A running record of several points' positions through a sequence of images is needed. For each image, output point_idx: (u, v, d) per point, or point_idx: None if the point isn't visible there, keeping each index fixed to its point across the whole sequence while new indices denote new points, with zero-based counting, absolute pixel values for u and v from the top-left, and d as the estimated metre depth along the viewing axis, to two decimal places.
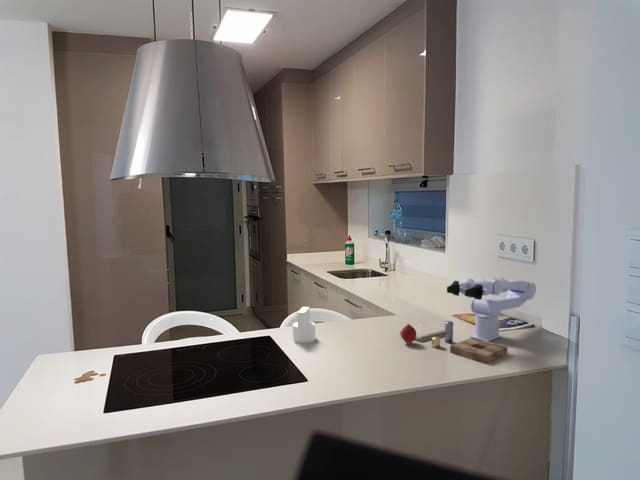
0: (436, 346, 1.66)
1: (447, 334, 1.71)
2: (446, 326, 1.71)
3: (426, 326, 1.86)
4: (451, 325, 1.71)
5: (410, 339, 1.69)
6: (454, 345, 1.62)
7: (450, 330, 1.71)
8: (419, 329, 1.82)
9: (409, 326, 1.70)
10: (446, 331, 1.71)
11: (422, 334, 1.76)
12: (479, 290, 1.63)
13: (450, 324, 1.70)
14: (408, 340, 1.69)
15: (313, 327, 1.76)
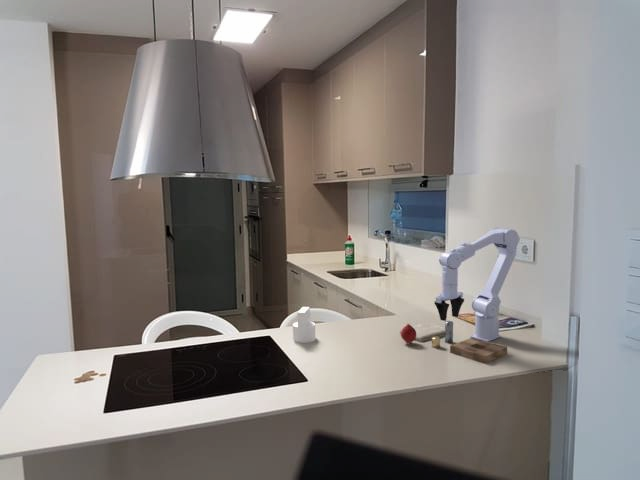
0: (436, 346, 1.66)
1: (447, 334, 1.71)
2: (446, 326, 1.71)
3: (426, 326, 1.86)
4: (451, 325, 1.71)
5: (410, 339, 1.69)
6: (454, 345, 1.62)
7: (450, 330, 1.71)
8: (419, 329, 1.82)
9: (409, 326, 1.70)
10: (446, 331, 1.71)
11: (422, 334, 1.76)
12: None
13: (450, 324, 1.70)
14: (408, 340, 1.69)
15: (313, 327, 1.76)
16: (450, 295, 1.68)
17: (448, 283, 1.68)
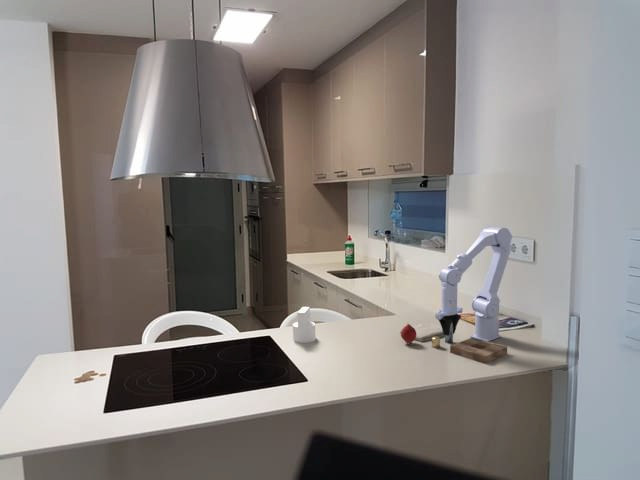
0: (436, 346, 1.66)
1: None
2: None
3: (426, 326, 1.86)
4: (451, 325, 1.71)
5: (410, 339, 1.69)
6: (454, 345, 1.62)
7: (450, 330, 1.71)
8: (419, 329, 1.82)
9: (409, 326, 1.70)
10: None
11: (423, 334, 1.76)
12: None
13: None
14: (408, 340, 1.69)
15: (313, 327, 1.76)
16: (450, 311, 1.68)
17: (448, 299, 1.68)
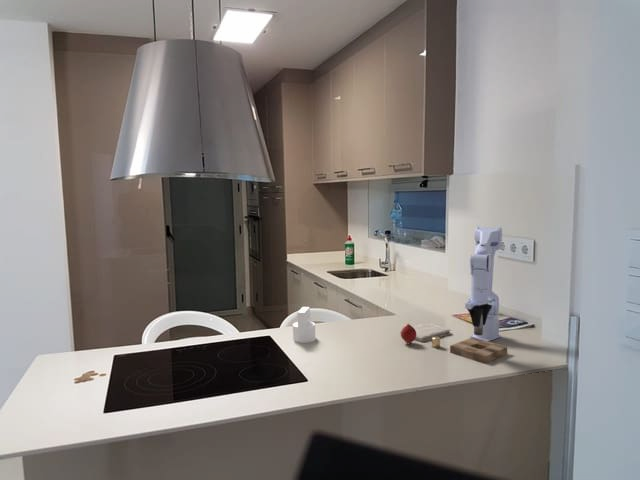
0: (436, 346, 1.66)
1: None
2: None
3: (426, 326, 1.86)
4: (481, 316, 1.58)
5: (410, 339, 1.69)
6: (454, 345, 1.62)
7: (480, 321, 1.58)
8: (420, 329, 1.81)
9: (409, 326, 1.70)
10: None
11: (424, 334, 1.75)
12: None
13: None
14: (408, 340, 1.69)
15: (313, 327, 1.76)
16: (481, 300, 1.56)
17: (485, 287, 1.55)
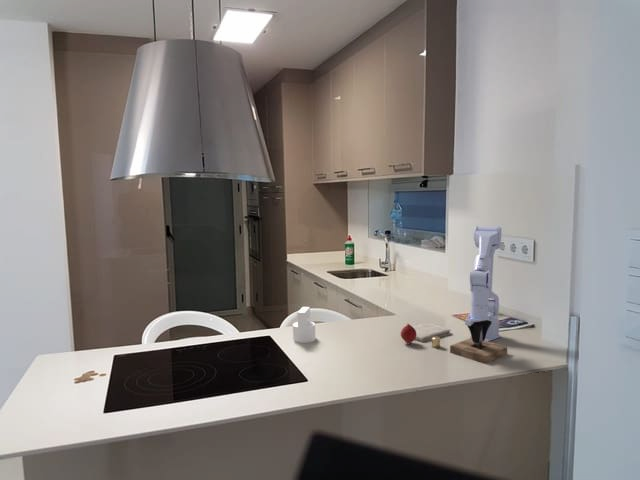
0: (436, 346, 1.66)
1: None
2: None
3: (426, 326, 1.86)
4: None
5: (410, 339, 1.69)
6: (454, 345, 1.62)
7: None
8: (420, 329, 1.81)
9: (409, 326, 1.70)
10: None
11: (424, 334, 1.75)
12: None
13: None
14: (408, 340, 1.69)
15: (313, 327, 1.76)
16: (480, 317, 1.56)
17: (485, 304, 1.56)
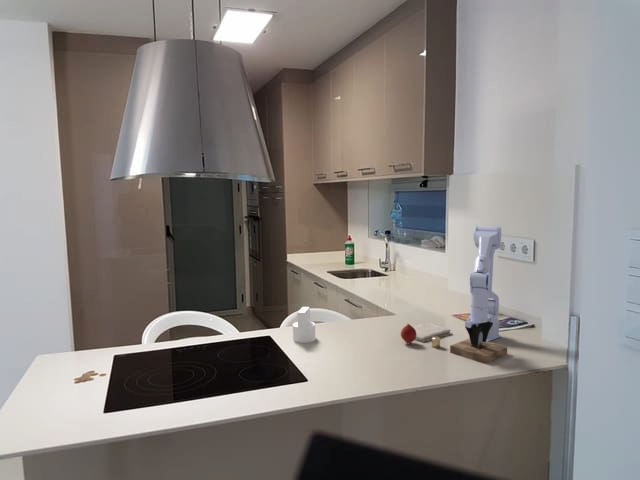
0: (436, 346, 1.66)
1: None
2: None
3: (426, 326, 1.85)
4: (480, 335, 1.59)
5: (410, 339, 1.69)
6: (454, 345, 1.62)
7: (480, 340, 1.59)
8: (420, 329, 1.81)
9: (409, 326, 1.70)
10: None
11: (424, 334, 1.75)
12: None
13: (479, 334, 1.58)
14: (408, 340, 1.69)
15: (313, 327, 1.76)
16: (480, 319, 1.56)
17: (485, 306, 1.56)
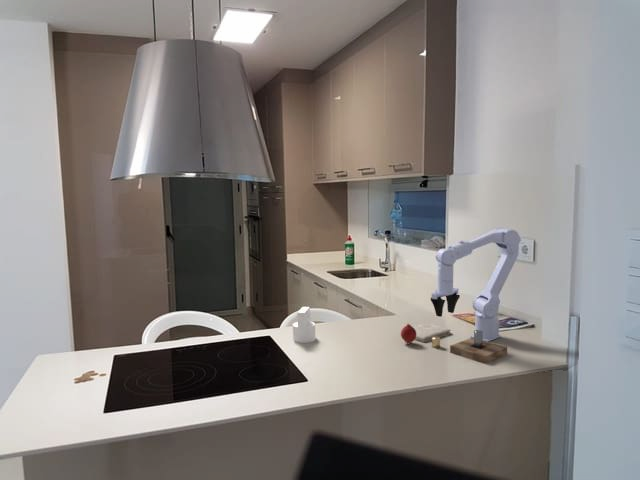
0: (436, 346, 1.66)
1: (476, 344, 1.59)
2: (475, 336, 1.59)
3: (426, 326, 1.85)
4: (480, 335, 1.59)
5: (410, 339, 1.69)
6: (454, 345, 1.62)
7: (479, 340, 1.59)
8: (420, 329, 1.81)
9: (409, 326, 1.70)
10: (475, 341, 1.59)
11: (425, 335, 1.75)
12: None
13: (479, 334, 1.58)
14: (408, 340, 1.69)
15: (313, 327, 1.76)
16: (446, 291, 1.70)
17: (443, 279, 1.70)
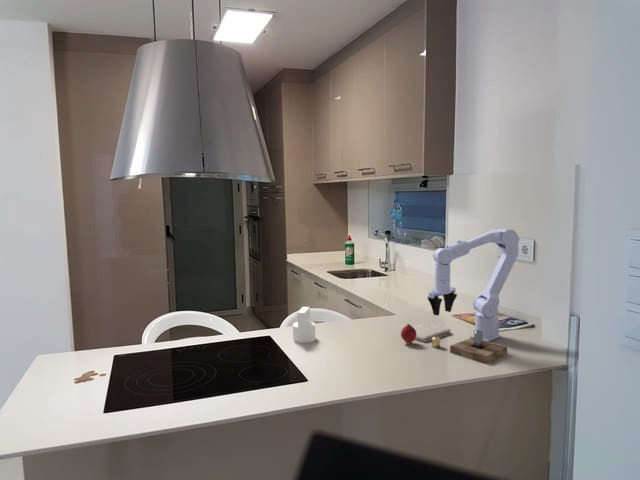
0: (436, 346, 1.66)
1: (476, 344, 1.59)
2: (475, 336, 1.59)
3: (426, 326, 1.85)
4: (480, 335, 1.59)
5: (410, 339, 1.69)
6: (454, 345, 1.62)
7: (479, 340, 1.59)
8: (421, 330, 1.81)
9: (409, 326, 1.70)
10: (475, 341, 1.59)
11: (426, 335, 1.75)
12: None
13: (479, 334, 1.58)
14: (408, 340, 1.69)
15: (313, 327, 1.76)
16: (443, 290, 1.71)
17: (439, 278, 1.72)
